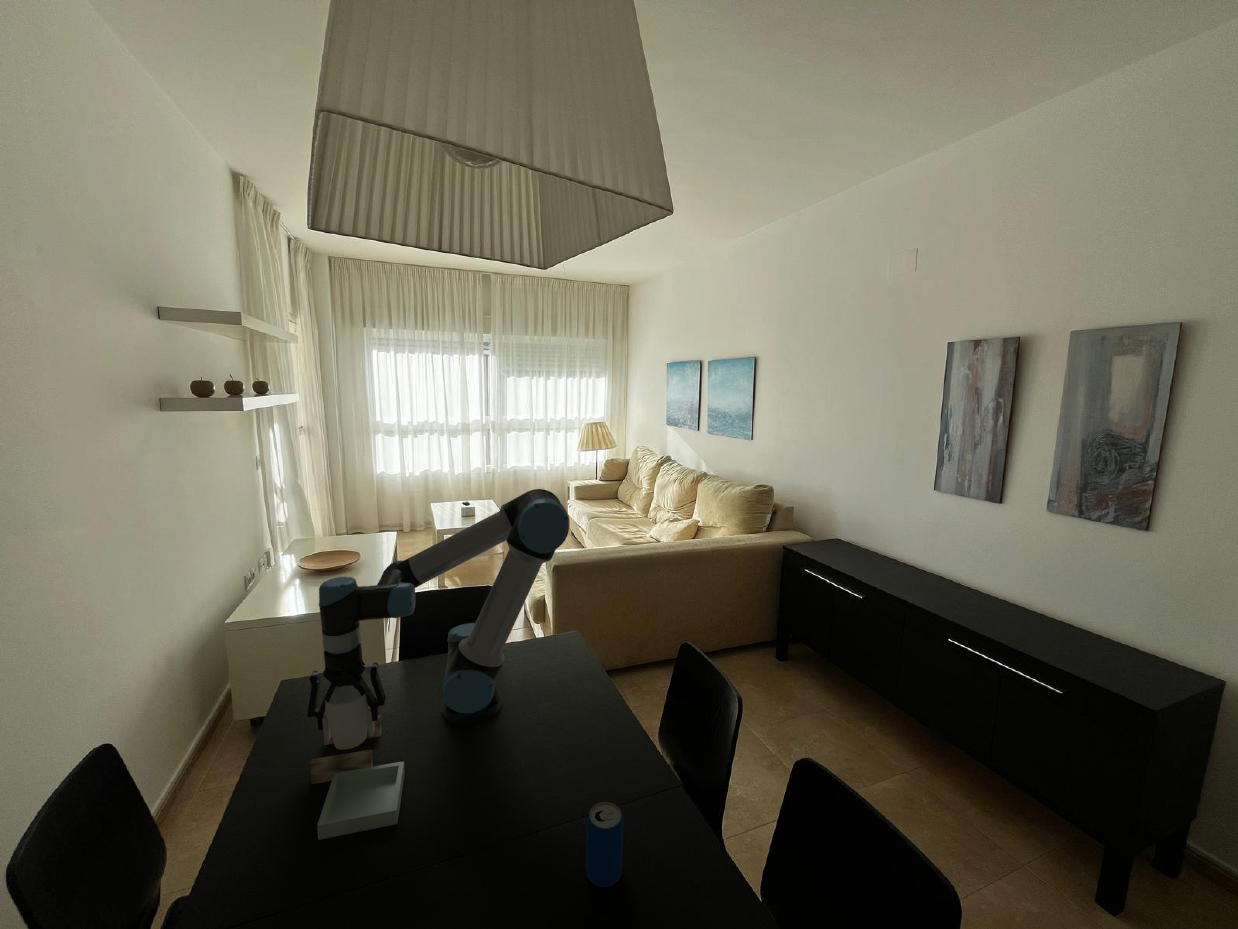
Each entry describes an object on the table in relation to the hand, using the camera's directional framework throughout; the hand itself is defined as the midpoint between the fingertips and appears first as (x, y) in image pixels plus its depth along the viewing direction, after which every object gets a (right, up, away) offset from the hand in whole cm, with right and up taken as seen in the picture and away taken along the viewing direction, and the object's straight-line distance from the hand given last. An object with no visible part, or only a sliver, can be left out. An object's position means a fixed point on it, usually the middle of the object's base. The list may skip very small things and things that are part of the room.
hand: (350, 736), depth 120 cm
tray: (+10, -7, -13) cm, 18 cm away
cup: (0, -1, 0) cm, 1 cm away
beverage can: (+60, -11, -27) cm, 66 cm away
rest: (-1, -5, +1) cm, 5 cm away
